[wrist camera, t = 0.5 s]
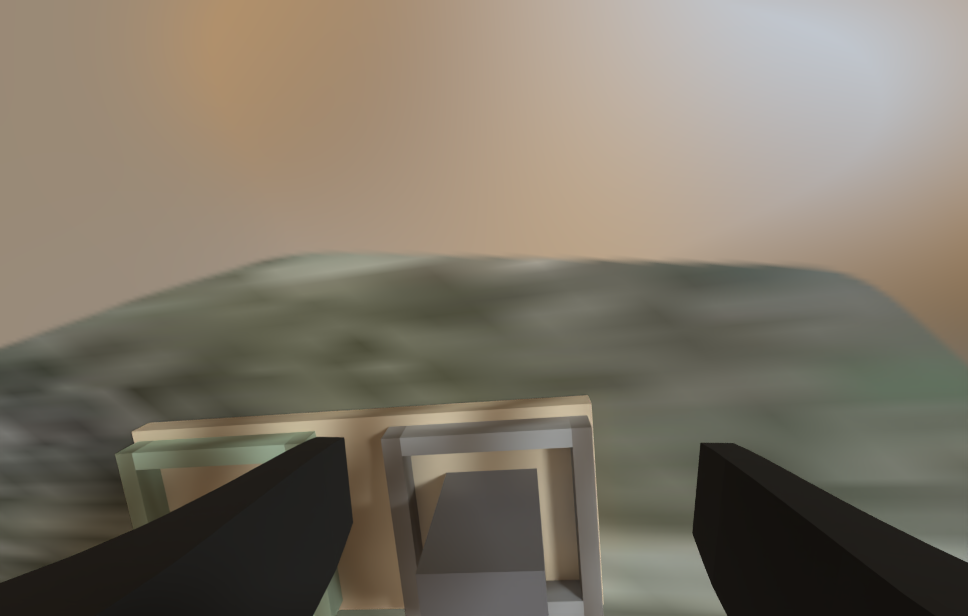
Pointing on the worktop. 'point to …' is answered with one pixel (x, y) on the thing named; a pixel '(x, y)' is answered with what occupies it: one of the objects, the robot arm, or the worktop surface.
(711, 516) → the robot arm
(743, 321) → the worktop surface
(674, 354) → the worktop surface
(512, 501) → the plug
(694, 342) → the worktop surface
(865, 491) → the worktop surface
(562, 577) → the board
